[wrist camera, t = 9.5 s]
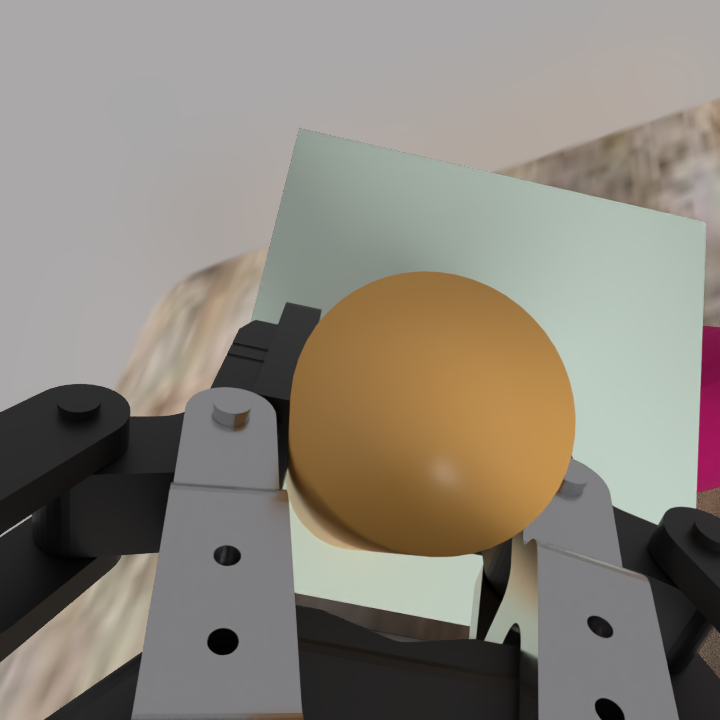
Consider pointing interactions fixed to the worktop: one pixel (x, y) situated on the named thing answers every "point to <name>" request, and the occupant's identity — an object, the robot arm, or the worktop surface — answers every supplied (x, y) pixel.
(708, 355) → the pepper mill
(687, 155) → the worktop surface
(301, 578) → the lid
